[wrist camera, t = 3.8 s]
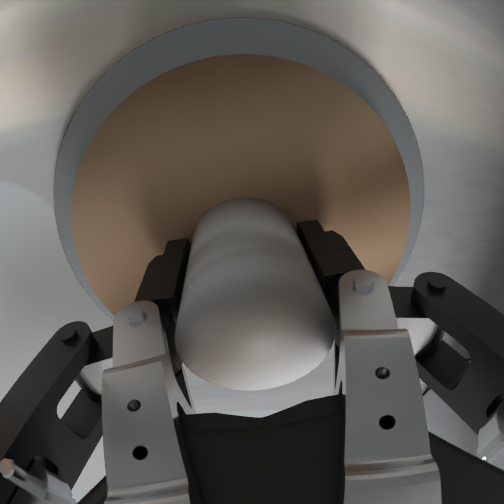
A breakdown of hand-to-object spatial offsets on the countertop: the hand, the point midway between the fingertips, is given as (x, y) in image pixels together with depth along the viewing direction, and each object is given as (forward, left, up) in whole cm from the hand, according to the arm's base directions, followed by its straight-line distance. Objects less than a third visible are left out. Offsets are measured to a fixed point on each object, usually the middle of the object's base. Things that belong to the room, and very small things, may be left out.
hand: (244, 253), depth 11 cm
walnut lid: (0, 0, -1) cm, 1 cm away
